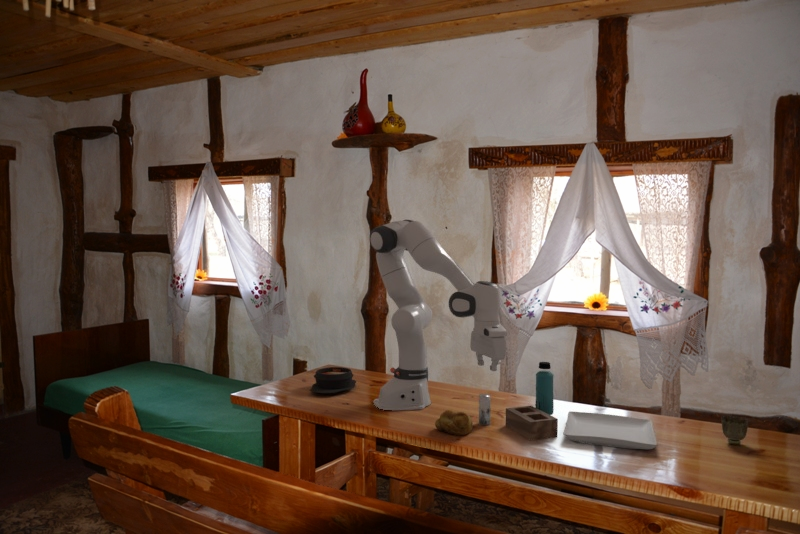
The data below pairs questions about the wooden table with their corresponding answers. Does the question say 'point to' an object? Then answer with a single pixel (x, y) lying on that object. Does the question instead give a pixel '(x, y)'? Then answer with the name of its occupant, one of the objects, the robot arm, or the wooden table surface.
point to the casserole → (333, 380)
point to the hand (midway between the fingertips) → (486, 368)
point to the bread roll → (454, 423)
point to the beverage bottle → (544, 389)
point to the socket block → (531, 422)
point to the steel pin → (484, 409)
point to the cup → (734, 429)
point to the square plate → (610, 430)
